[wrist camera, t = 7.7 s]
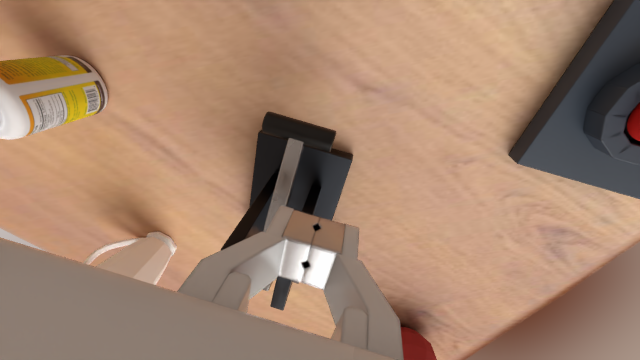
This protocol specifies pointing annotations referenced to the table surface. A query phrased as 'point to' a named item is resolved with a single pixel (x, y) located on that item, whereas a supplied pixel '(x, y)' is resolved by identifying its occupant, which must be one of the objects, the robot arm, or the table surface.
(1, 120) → the supplement bottle
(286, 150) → the lever
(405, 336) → the tomato
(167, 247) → the cup
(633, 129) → the button
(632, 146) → the block
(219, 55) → the table surface
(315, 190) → the bracket
